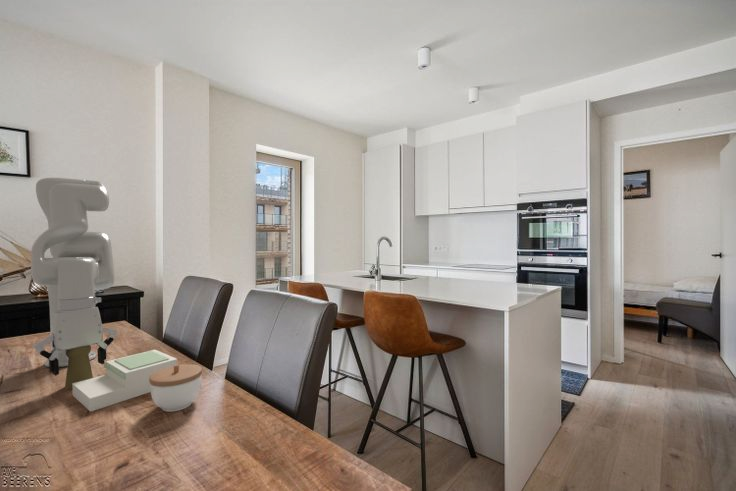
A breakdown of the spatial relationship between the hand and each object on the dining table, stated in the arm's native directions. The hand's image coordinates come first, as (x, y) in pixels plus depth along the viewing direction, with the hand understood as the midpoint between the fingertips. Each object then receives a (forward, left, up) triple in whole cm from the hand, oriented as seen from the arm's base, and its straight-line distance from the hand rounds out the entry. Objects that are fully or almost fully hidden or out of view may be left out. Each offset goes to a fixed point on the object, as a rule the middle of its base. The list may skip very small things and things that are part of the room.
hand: (79, 368), depth 93 cm
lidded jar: (+34, +10, -5) cm, 35 cm away
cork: (0, 0, -5) cm, 5 cm away
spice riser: (+14, +7, -5) cm, 16 cm away
